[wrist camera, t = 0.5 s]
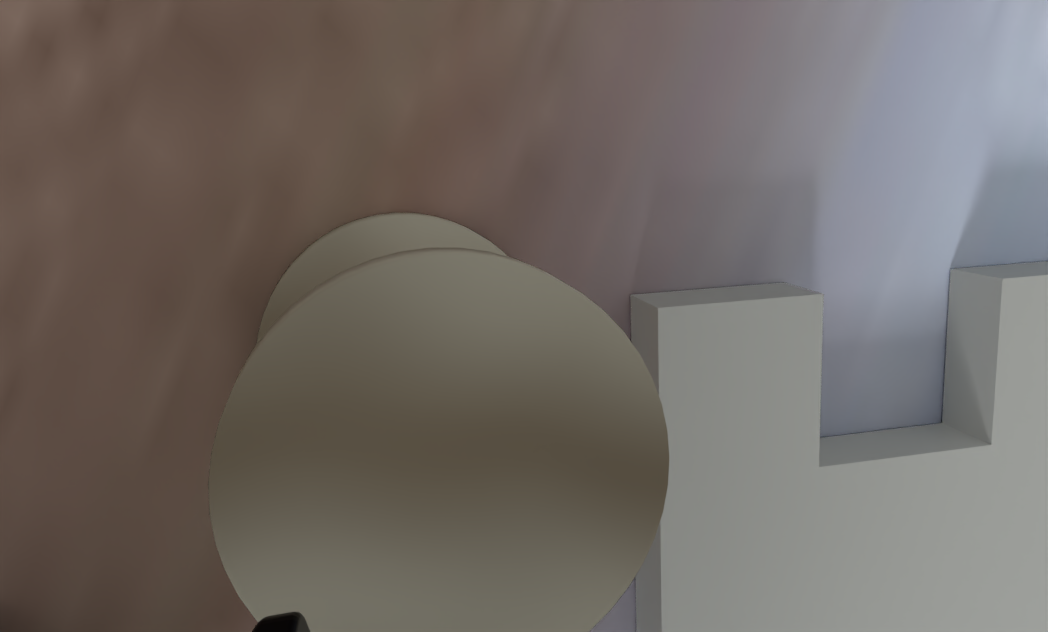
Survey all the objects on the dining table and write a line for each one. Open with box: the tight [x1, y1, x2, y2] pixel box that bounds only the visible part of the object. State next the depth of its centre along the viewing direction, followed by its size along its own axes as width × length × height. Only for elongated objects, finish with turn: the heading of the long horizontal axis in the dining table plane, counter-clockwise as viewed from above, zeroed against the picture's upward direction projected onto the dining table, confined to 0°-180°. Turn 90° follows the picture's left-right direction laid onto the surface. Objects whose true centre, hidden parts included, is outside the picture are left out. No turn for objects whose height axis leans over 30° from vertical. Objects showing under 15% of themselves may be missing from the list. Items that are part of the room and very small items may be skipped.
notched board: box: [630, 261, 1048, 632], centre depth 25 cm, size 14×14×2 cm
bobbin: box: [208, 213, 669, 632], centre depth 17 cm, size 7×7×9 cm
